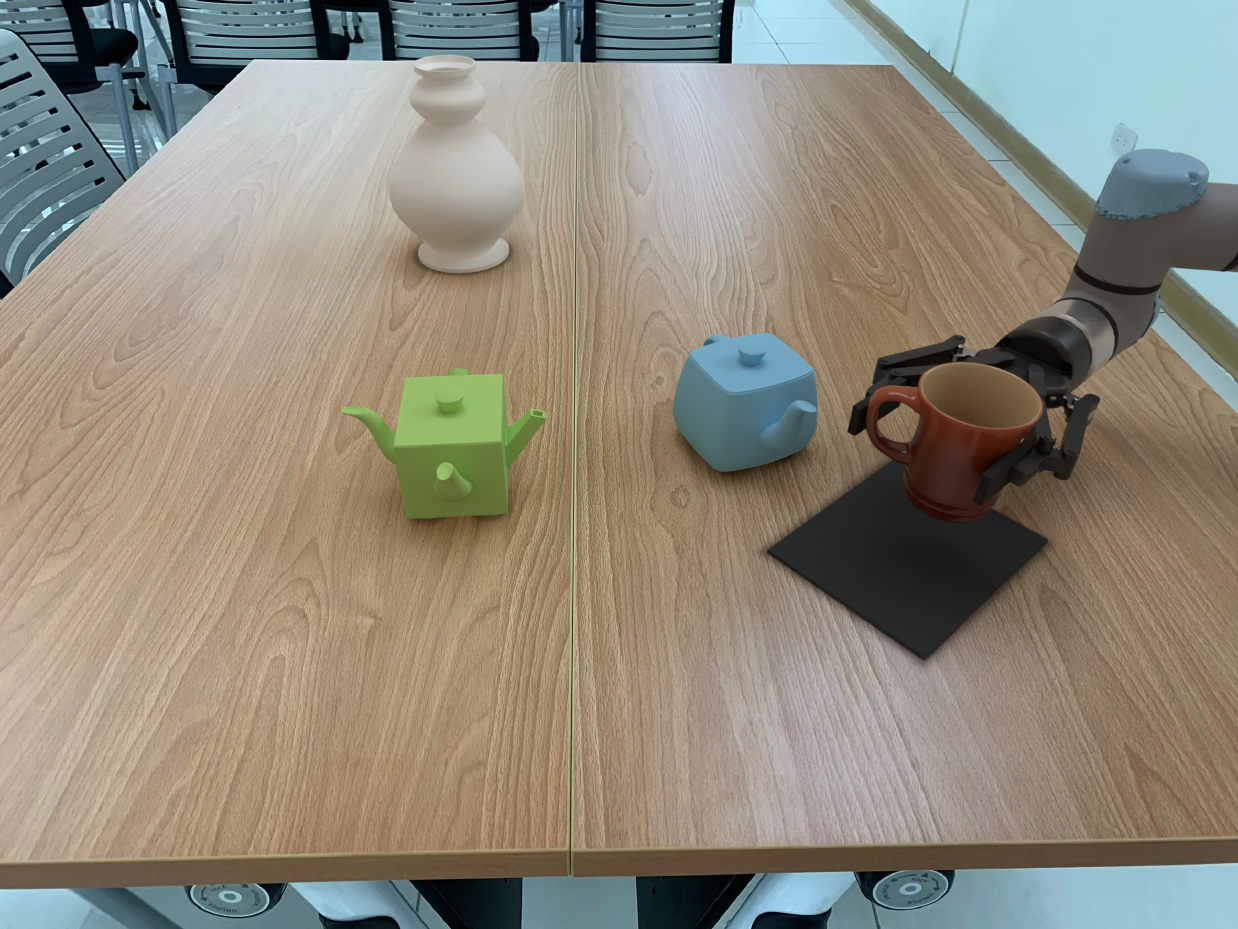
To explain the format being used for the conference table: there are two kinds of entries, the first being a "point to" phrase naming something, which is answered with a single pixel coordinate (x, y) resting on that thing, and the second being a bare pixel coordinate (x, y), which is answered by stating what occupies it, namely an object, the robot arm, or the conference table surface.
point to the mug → (956, 434)
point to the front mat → (905, 560)
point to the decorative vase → (455, 172)
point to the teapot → (745, 401)
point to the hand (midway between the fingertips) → (914, 454)
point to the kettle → (452, 443)
